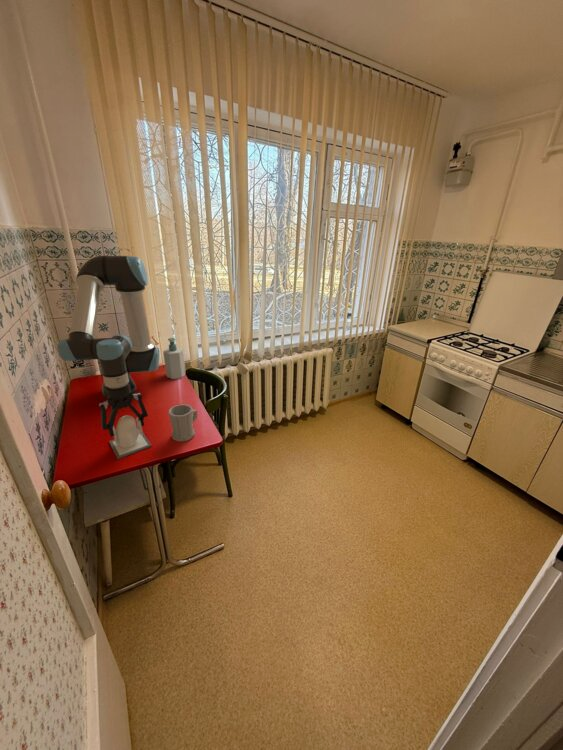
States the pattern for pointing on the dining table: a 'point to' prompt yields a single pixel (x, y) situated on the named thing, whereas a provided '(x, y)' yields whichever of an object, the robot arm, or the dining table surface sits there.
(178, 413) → the cup
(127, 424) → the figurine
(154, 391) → the dining table surface
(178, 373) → the soap bottle
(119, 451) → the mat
